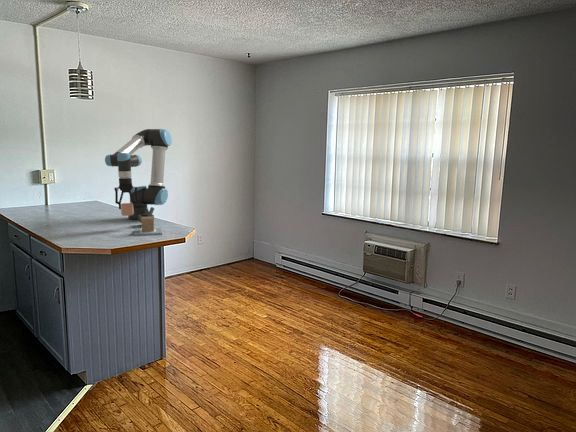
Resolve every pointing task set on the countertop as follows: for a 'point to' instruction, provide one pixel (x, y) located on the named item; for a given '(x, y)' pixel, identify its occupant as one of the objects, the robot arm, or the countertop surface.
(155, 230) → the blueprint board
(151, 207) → the mortar and pestle
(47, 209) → the countertop surface
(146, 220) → the walnut block
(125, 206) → the terracotta block
